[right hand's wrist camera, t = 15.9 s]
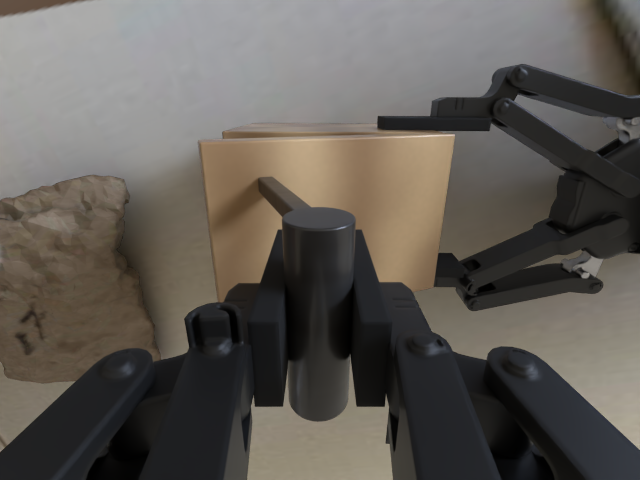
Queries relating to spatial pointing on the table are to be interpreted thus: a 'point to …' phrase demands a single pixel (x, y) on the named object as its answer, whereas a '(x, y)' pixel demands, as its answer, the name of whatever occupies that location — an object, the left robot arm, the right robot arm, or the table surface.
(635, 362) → the table surface
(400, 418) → the right robot arm
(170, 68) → the table surface
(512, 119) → the left robot arm
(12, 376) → the stone
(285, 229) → the lid
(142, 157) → the table surface
